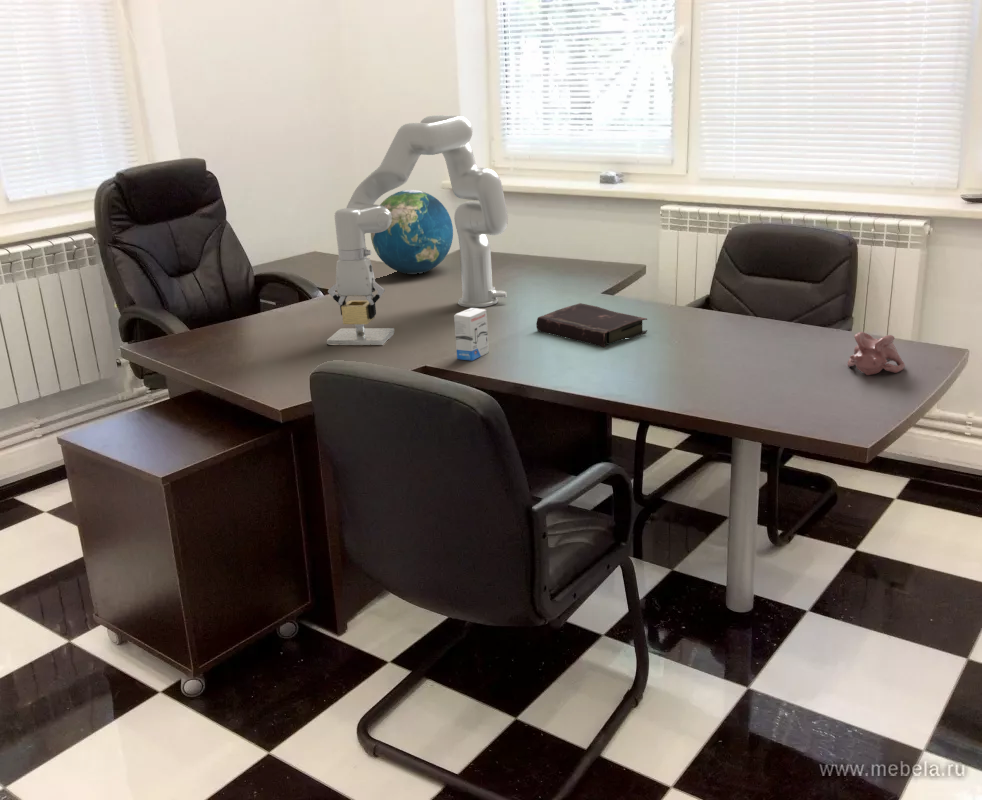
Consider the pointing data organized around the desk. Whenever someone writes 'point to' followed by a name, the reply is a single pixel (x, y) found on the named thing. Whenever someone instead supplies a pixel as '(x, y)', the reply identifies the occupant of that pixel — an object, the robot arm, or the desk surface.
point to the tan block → (356, 312)
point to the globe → (414, 232)
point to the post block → (361, 336)
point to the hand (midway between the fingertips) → (358, 317)
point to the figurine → (875, 354)
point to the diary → (591, 324)
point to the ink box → (471, 334)
